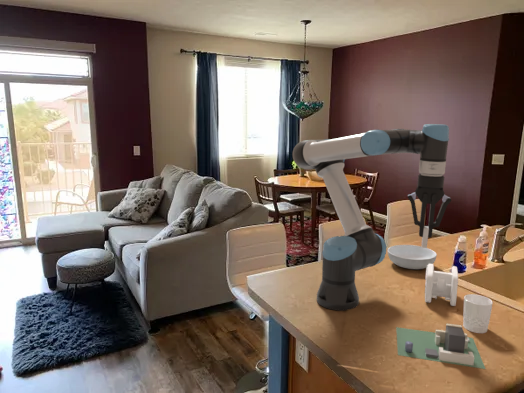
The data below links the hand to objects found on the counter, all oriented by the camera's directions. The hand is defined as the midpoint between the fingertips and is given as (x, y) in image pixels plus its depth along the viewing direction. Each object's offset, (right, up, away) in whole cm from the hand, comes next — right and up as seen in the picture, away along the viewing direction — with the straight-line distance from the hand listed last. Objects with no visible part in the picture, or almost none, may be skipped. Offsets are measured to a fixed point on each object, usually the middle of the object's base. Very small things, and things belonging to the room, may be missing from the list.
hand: (424, 246), depth 128 cm
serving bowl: (+16, -16, +53) cm, 57 cm away
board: (-2, -28, -13) cm, 31 cm away
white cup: (+15, -26, -2) cm, 30 cm away
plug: (+2, -28, -16) cm, 32 cm away
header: (+2, -28, -16) cm, 32 cm away
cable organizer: (+13, -22, +19) cm, 32 cm away
